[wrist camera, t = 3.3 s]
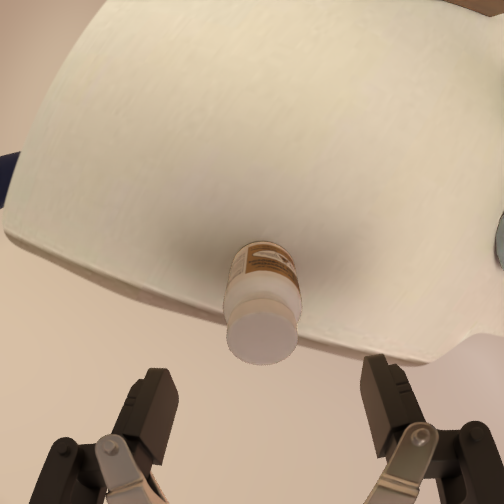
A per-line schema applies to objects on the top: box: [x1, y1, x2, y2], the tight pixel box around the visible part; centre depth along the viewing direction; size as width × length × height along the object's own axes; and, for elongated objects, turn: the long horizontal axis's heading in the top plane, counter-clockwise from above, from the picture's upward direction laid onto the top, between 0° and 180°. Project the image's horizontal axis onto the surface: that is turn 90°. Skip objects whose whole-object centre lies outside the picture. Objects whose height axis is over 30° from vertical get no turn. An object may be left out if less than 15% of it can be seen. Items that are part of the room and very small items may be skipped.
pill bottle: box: [223, 242, 302, 365], centre depth 17 cm, size 4×4×8 cm
